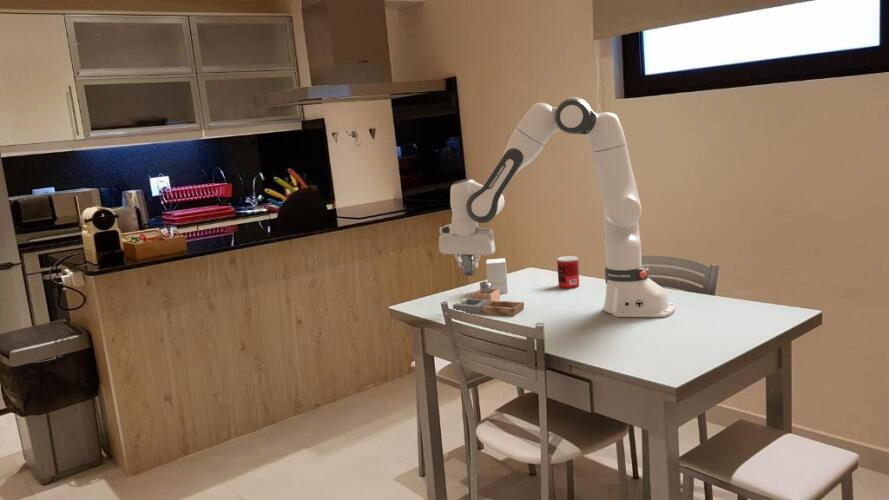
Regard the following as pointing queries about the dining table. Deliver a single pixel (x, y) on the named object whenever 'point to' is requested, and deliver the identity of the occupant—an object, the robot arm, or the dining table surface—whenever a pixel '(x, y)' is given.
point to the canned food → (568, 272)
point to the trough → (503, 308)
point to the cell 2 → (485, 287)
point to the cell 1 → (467, 265)
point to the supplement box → (497, 274)
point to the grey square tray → (471, 305)
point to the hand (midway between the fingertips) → (468, 266)
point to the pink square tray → (487, 295)
